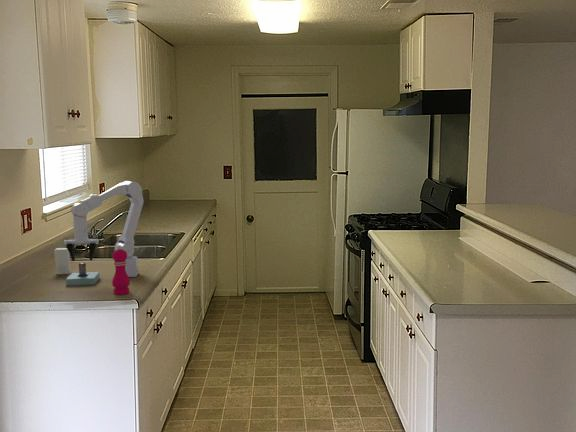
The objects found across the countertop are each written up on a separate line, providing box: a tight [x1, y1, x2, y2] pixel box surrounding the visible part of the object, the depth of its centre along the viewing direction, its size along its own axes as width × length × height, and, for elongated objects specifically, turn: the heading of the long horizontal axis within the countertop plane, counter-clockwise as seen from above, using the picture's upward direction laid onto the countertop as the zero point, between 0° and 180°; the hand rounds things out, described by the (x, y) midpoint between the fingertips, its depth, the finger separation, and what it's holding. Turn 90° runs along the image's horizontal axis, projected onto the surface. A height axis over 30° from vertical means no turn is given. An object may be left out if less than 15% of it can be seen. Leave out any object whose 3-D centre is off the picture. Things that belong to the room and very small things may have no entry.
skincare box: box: [53, 247, 72, 275], centre depth 296 cm, size 6×4×12 cm
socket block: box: [65, 271, 100, 287], centre depth 281 cm, size 12×12×3 cm
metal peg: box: [78, 262, 87, 277], centre depth 280 cm, size 3×3×8 cm
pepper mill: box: [111, 246, 131, 296], centre depth 261 cm, size 7×7×20 cm
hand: (82, 260), depth 280 cm, fingers open, 7 cm apart
